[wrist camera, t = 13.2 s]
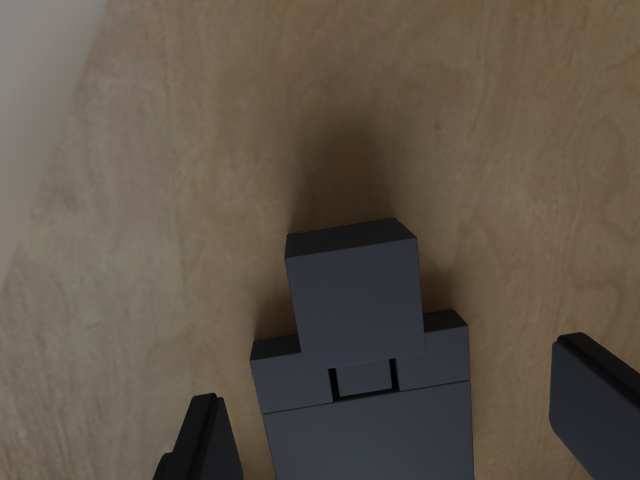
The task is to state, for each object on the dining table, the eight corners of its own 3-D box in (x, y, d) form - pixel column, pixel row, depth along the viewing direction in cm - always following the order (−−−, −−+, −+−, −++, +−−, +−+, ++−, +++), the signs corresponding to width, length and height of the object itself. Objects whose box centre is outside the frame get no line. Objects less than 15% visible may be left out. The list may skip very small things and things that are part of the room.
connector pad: (312, 379, 24) (315, 428, 20) (286, 234, 21) (284, 257, 17) (408, 363, 24) (430, 409, 20) (395, 217, 21) (417, 237, 17)
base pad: (287, 496, 26) (286, 526, 24) (253, 341, 23) (249, 360, 21) (462, 467, 26) (475, 494, 24) (454, 308, 23) (468, 325, 21)
